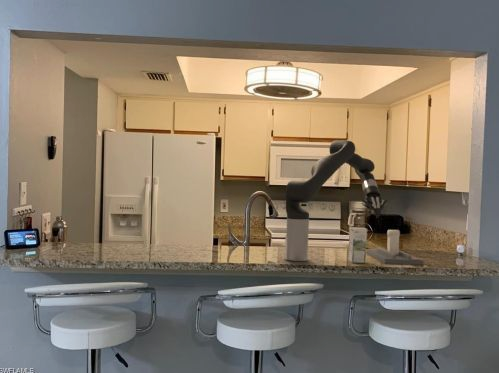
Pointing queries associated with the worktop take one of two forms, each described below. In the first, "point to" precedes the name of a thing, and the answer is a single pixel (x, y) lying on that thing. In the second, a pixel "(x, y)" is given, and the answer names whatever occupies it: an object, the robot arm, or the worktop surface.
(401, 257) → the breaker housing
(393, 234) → the handle
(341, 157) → the robot arm
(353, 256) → the syrup box
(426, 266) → the worktop surface
